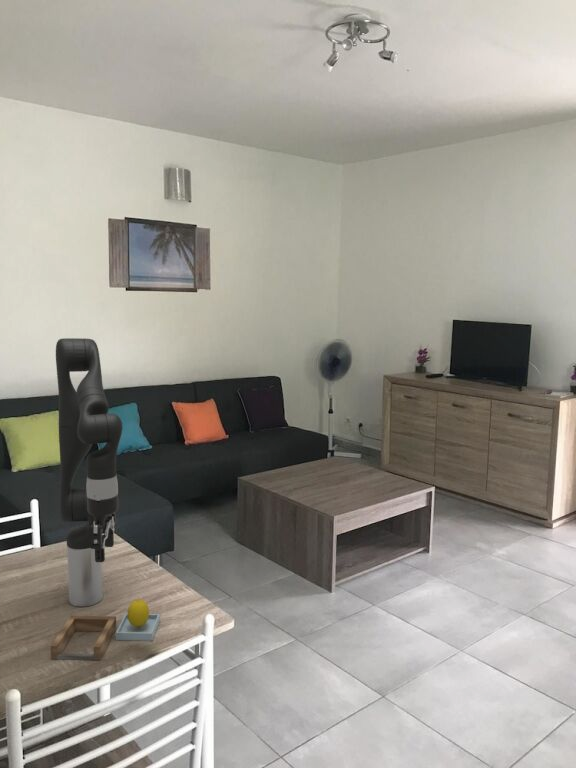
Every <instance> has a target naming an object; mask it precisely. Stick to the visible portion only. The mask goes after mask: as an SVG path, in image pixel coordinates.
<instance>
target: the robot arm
mask: <svg viewBox="0 0 576 768" xmlns="http://www.w3.org/2000/svg"><path fill="white" fill-rule="evenodd" d="M100 359H101V358H100V351H99V348H98V344H97V342H96V341H95V340H94V339H91V338H73V337H72V338H70V337H69V338H67V337H66V338H59V339H58V340H57V341H56V345H55V365H56V375H57V376H56V377H57V390H58V443H59V444H58V445H59V459H60V460H59V461H60V462H59V463H60V467H59V468H60V472H59V473H60V476H59V495H58V496H59V497H58V498H59V499H58V501H59V504H58V505H59V506H58V508H59V509H58V510H59V517H60V519H61V521H62V522H66V523H68V522H69V523H73V522H75V523H76V522H87V523H86V524H84V525H82V526H80V527H77V528H75V529H73V530H71V531H70V532H69V533H68V534H67V536H66V553H67V554H66V556H67V559H66V560H67V574H68V575H67V576H68V577H67V579H68V598H69V600H68V601H69V604H71V605H72V606H74V607H82V608H84V607H89V606H93V605H97V604H98V603H99V602H101V600H102V599H103V597H104V594H103V568H102V567H103V566H102V564H103V563H104V562H105V559H106V555H105V553H106V550H105V548H114V547H113V546H114V545H115V542H114V541H115V539H114V538H115V537H114V533H115V528H116V527H117V518H116V516H117V515H116V512H118V510H119V509H120V507H119V484H118V482H119V481H118V477H117V454H118V448H119V444H120V441H121V438H122V433H123V421H122V419H121V417H120V416H119V415H118V414H116V413H109V409H110V407H109V404H108V399H107V396H106V394H105V390H104V386H103V385H104V384H103V376H102V375H103V374H102V368H101V367H102V365H101V360H100ZM71 372H72V373H73V372H78V373H79V372H80V373H81V372H82V373H83V372H87V373H86V375H85V376H84V377H83V378H82V380H81V381H80V382H79V384H78V385H77V388H76V389H75V387H74V385H73V382H72V378H71ZM95 444H105V445H104V446H103V447H102V448H100V449H97V450H94V451H92V452H90V453H89V451H90V450H91V448H92V446H93V445H95ZM85 457H86V461H85V463H86V483H85V484H86V485H85V486H86V487H77V488H73V484H74V478H75V475H76V474H77V471H78V469H79V467H80V466H81V464H82V462H83V461H84V459H85Z"/></svg>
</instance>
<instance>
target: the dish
mask: <svg viewBox="0 0 576 768" xmlns="http://www.w3.org/2000/svg"><path fill="white" fill-rule="evenodd" d="M160 622H161V615H160V613H149V618H148V620H147V622H146V623H145V624H144V625H143V626H141V627H140V628H138V627H135V626H133V625H131V624H130V622H129V620H128V612H127V613H125V614H124V616H123V617H122V620H121V621H120V623H119V626H118V627H117V628H116V631H115V641H149V642H151V641H152V642H153V640H154V638H155V635H156V632H157V630H158V627H159V624H160Z"/></svg>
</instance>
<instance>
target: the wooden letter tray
mask: <svg viewBox="0 0 576 768" xmlns="http://www.w3.org/2000/svg"><path fill="white" fill-rule="evenodd" d="M116 631H117V616H110V615H106V616H105V615H103V616H101V615H70V617H69V618H68V619H67V620H66V622H65V623H64V625H63V627H62V628H61V629H60V632H58V634H57V636H56V637H55V638H54V641H52V644H51V645H50V659H51V660H64V661H65V660H66V661H67V660H68V661H69V660H71V661H101V660H102V658H103V657H104V654H105V652H106V650H107V648H108V646H109V645H110V642H111V640H112V638H113V636H114V635H115V634H116ZM75 632H101V633H100V634H99V637H98V638H97V640H96V642H95V644H94V646H93V653H65V652H64V650H65V648H66V646H67V644H68V643H69V642H70V640H71V638H72V637H73V636H74V634H75ZM63 652H64V653H63Z"/></svg>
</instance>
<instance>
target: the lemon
mask: <svg viewBox="0 0 576 768" xmlns="http://www.w3.org/2000/svg"><path fill="white" fill-rule="evenodd" d="M127 614H128V620H129V622H130V624H131V625H133V626H135V627H138V628H140V627H141V626H143V625H144V624H145V623H146V622H147V620H148V618H149V614H150V609H149V606H148V603H147V602H146V601H145V600H142V599H139V598H137V599H136V600H133V601H131V602H130V604H129V606H128V608H127Z"/></svg>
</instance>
